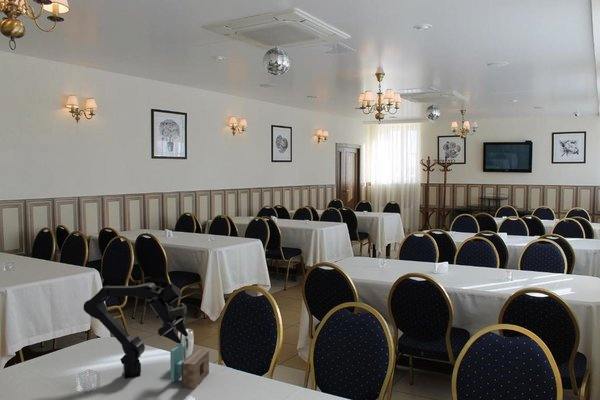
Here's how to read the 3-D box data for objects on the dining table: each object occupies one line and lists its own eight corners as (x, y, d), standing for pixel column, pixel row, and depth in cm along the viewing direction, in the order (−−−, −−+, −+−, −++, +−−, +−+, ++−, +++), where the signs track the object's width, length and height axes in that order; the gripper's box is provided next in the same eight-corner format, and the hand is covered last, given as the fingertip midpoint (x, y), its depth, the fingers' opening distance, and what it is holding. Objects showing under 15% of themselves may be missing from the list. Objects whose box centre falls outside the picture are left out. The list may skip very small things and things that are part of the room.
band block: (181, 387, 208) (181, 363, 208) (196, 372, 224) (196, 349, 223) (194, 388, 207) (194, 364, 207) (209, 373, 223) (208, 350, 222)
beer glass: (190, 367, 230) (189, 333, 229) (175, 365, 231) (175, 332, 230) (196, 361, 236) (196, 329, 236) (182, 360, 238) (181, 328, 237)
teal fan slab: (170, 381, 213) (170, 350, 212) (179, 373, 222) (179, 343, 221) (187, 383, 212) (187, 351, 211) (195, 374, 220) (195, 344, 219)
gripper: (169, 304, 208) (192, 336, 208) (184, 293, 227) (204, 322, 226) (147, 320, 209) (170, 351, 209) (164, 307, 228) (184, 336, 228)
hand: (183, 339), depth 218 cm, fingers open, 9 cm apart
